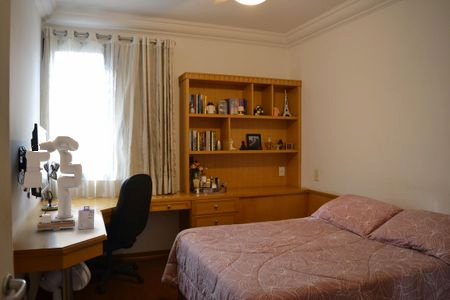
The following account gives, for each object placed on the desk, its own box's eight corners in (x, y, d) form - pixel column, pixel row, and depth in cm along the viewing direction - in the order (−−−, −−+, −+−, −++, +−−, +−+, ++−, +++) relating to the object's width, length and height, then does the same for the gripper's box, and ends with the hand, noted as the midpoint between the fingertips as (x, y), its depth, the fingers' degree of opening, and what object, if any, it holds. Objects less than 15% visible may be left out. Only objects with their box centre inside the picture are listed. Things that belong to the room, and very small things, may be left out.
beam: (37, 229, 222) (37, 221, 222) (74, 226, 232) (74, 219, 232) (37, 232, 214) (37, 224, 214) (75, 229, 224) (75, 222, 224)
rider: (42, 223, 221) (42, 214, 221) (50, 222, 223) (50, 213, 223) (41, 224, 217) (42, 215, 217) (50, 224, 219) (50, 215, 219)
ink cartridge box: (94, 226, 233) (94, 205, 233) (93, 228, 228) (94, 207, 228) (78, 227, 230) (79, 206, 230) (77, 229, 225) (78, 207, 225)
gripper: (48, 169, 223) (47, 197, 223) (18, 169, 216) (18, 198, 216) (48, 170, 217) (47, 198, 217) (17, 170, 209) (17, 200, 209)
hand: (32, 198), depth 216 cm, fingers open, 3 cm apart
